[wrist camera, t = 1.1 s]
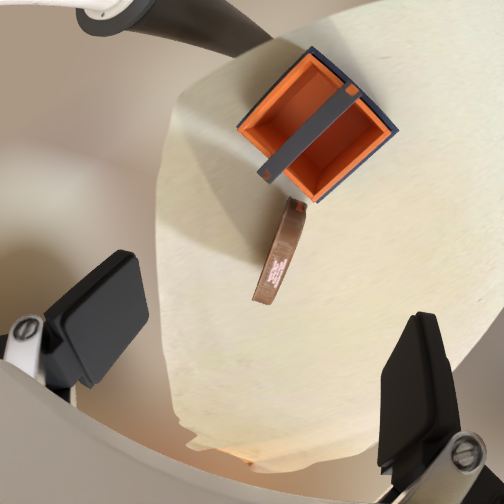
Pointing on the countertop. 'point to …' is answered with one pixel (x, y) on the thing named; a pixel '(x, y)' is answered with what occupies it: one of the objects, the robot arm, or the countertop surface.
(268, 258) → the tin
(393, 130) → the bin outer
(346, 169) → the basket
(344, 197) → the countertop surface
